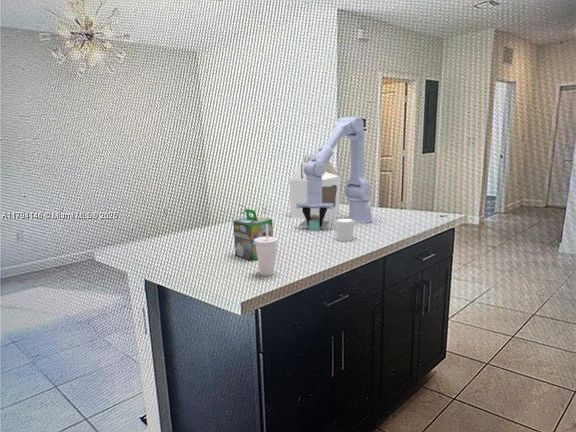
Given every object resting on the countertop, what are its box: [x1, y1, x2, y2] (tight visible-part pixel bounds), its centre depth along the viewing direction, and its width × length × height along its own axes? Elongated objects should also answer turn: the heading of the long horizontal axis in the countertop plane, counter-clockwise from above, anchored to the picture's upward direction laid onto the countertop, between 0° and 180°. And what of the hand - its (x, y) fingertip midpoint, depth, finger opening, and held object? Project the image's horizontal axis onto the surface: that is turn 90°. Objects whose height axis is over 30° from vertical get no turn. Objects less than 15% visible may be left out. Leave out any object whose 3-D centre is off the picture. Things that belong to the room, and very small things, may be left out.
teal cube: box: [308, 219, 322, 231], centre depth 160 cm, size 4×4×4 cm
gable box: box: [289, 154, 340, 220], centre depth 186 cm, size 22×13×28 cm, turn 144°
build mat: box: [298, 219, 330, 228], centre depth 170 cm, size 11×11×1 cm
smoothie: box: [254, 224, 278, 277], centre depth 110 cm, size 6×6×14 cm
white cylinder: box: [334, 218, 355, 242], centre depth 145 cm, size 7×7×7 cm
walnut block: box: [310, 215, 320, 219], centre depth 170 cm, size 5×5×3 cm
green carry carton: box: [232, 208, 274, 262], centre depth 128 cm, size 9×9×15 cm
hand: (314, 226), depth 160 cm, fingers closed on teal cube, 4 cm apart
